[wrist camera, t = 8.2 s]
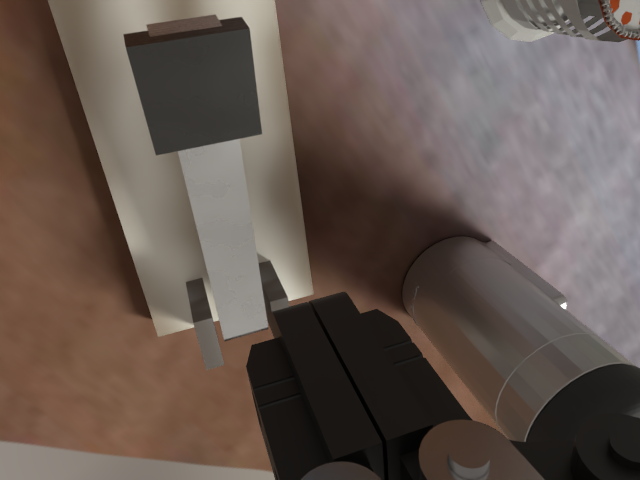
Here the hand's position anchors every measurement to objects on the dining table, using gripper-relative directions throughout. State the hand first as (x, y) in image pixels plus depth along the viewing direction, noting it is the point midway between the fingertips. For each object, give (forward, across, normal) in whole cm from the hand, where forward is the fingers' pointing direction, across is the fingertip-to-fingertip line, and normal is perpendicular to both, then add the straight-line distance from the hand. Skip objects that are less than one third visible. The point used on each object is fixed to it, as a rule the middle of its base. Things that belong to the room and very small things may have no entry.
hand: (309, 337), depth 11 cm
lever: (+20, 0, +6) cm, 20 cm away
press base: (+27, 0, +5) cm, 28 cm away
